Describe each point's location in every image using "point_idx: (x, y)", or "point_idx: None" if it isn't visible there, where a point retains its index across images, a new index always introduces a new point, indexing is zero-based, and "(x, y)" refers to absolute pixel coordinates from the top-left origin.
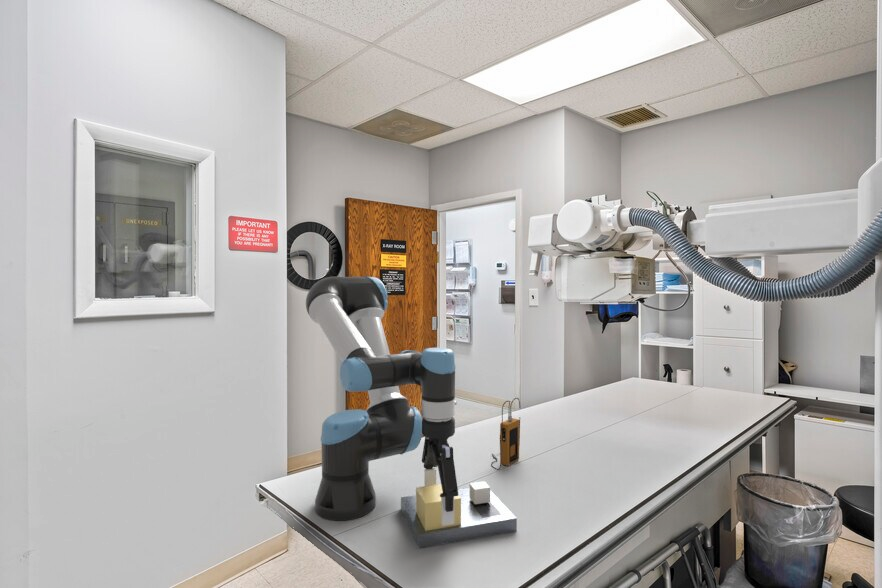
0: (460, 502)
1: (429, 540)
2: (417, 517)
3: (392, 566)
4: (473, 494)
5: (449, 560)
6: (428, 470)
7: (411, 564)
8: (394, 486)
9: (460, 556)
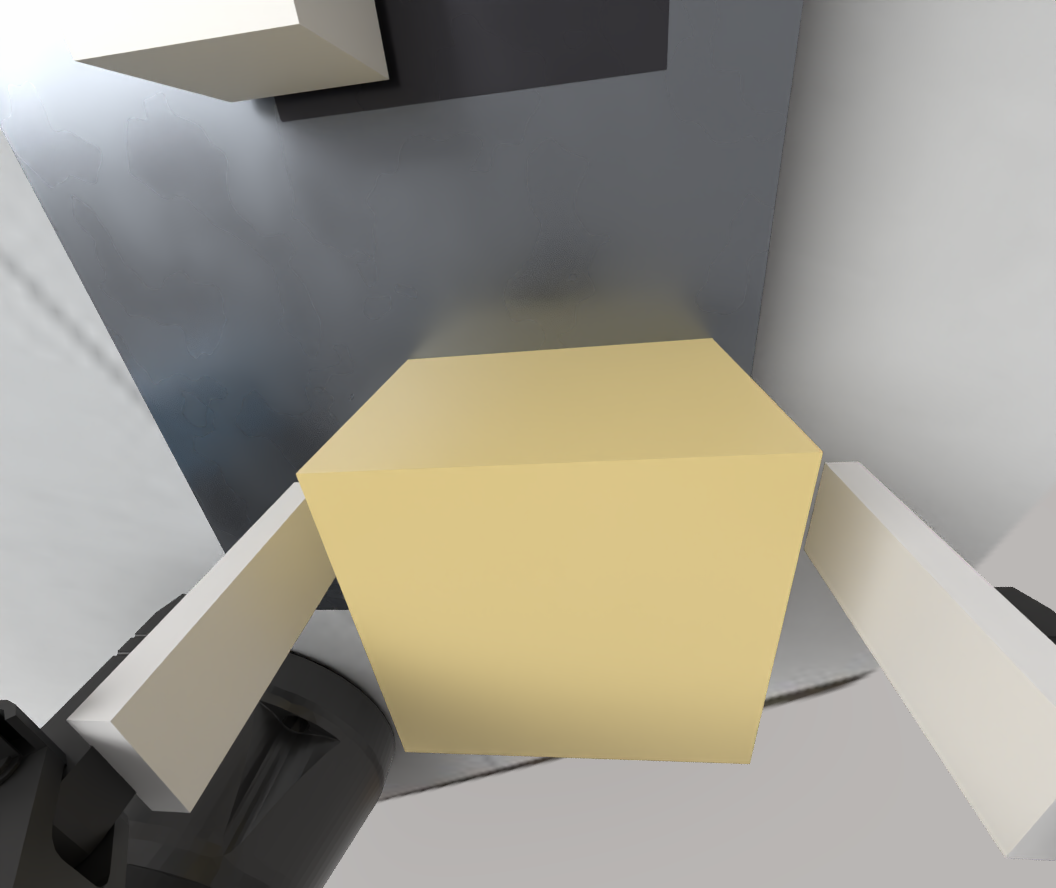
0: (793, 429)
1: None
2: None
3: (783, 658)
4: (297, 61)
5: (885, 441)
6: (170, 785)
7: (810, 600)
8: (34, 544)
9: (886, 371)
